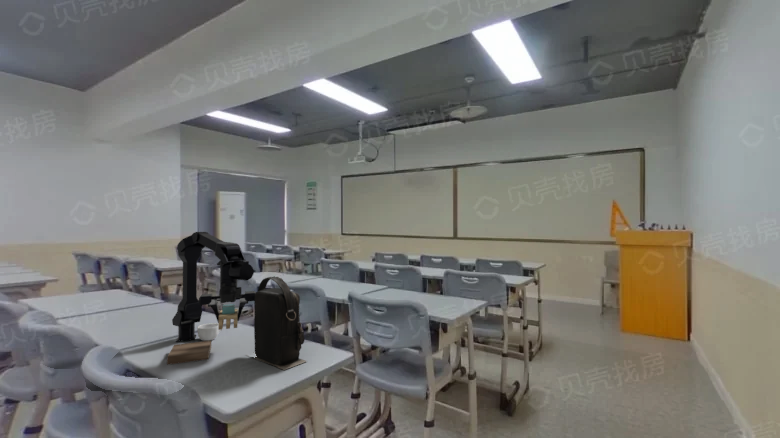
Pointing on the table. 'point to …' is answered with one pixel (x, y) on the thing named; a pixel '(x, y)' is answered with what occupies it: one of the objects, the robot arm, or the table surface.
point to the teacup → (208, 331)
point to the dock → (189, 352)
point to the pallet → (228, 319)
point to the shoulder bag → (277, 325)
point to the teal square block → (228, 309)
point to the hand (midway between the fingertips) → (228, 321)
